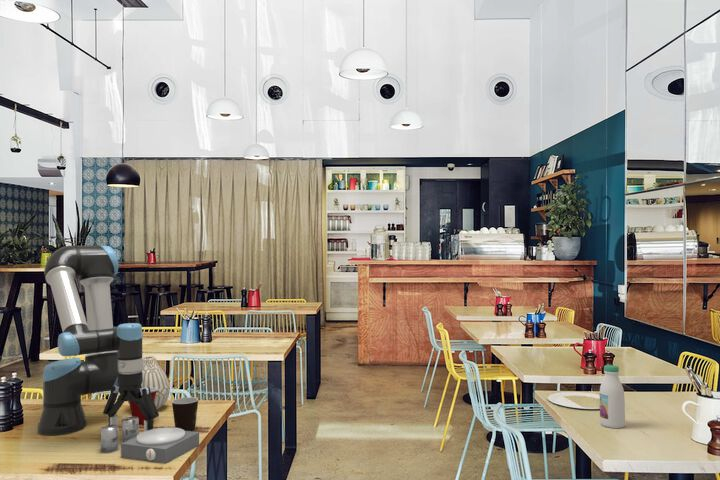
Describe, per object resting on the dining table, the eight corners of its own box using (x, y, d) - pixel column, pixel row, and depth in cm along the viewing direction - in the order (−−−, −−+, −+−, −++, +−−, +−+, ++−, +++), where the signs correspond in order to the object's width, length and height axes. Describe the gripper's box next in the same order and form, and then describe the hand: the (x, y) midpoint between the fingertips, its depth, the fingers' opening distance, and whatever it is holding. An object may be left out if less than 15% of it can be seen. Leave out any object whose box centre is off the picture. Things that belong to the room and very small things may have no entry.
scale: (119, 457, 169) (119, 440, 169) (157, 440, 184) (157, 424, 184) (164, 464, 163) (164, 446, 163) (199, 445, 179) (199, 429, 179)
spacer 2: (118, 442, 183) (118, 420, 183) (129, 437, 187) (129, 416, 187) (131, 443, 181) (131, 421, 181) (142, 438, 186) (141, 417, 186)
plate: (566, 391, 241) (566, 388, 241) (627, 402, 222) (627, 399, 222) (535, 402, 224) (535, 399, 224) (598, 415, 205) (598, 412, 205)
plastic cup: (161, 417, 210) (160, 384, 210) (154, 426, 199) (154, 391, 199) (130, 419, 208) (129, 386, 208) (122, 428, 197) (121, 393, 198)
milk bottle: (625, 423, 195) (623, 364, 195) (625, 430, 188) (623, 368, 188) (600, 420, 198) (599, 363, 198) (599, 427, 191) (598, 367, 191)
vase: (119, 409, 221) (119, 357, 222) (159, 401, 232) (159, 352, 233) (135, 417, 210) (135, 363, 210) (176, 409, 220) (176, 357, 221)
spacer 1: (97, 451, 174) (96, 428, 174) (109, 446, 179) (109, 424, 179) (110, 453, 172) (109, 430, 173) (122, 448, 177) (122, 425, 177)
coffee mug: (190, 434, 189) (190, 404, 189) (167, 433, 191) (166, 403, 191) (207, 424, 201) (206, 395, 201) (184, 423, 202) (184, 394, 202)
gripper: (90, 372, 185) (91, 438, 185) (153, 376, 177) (154, 445, 176) (108, 367, 192) (109, 431, 192) (169, 371, 184) (170, 437, 183)
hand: (130, 438), depth 184 cm, fingers open, 13 cm apart
